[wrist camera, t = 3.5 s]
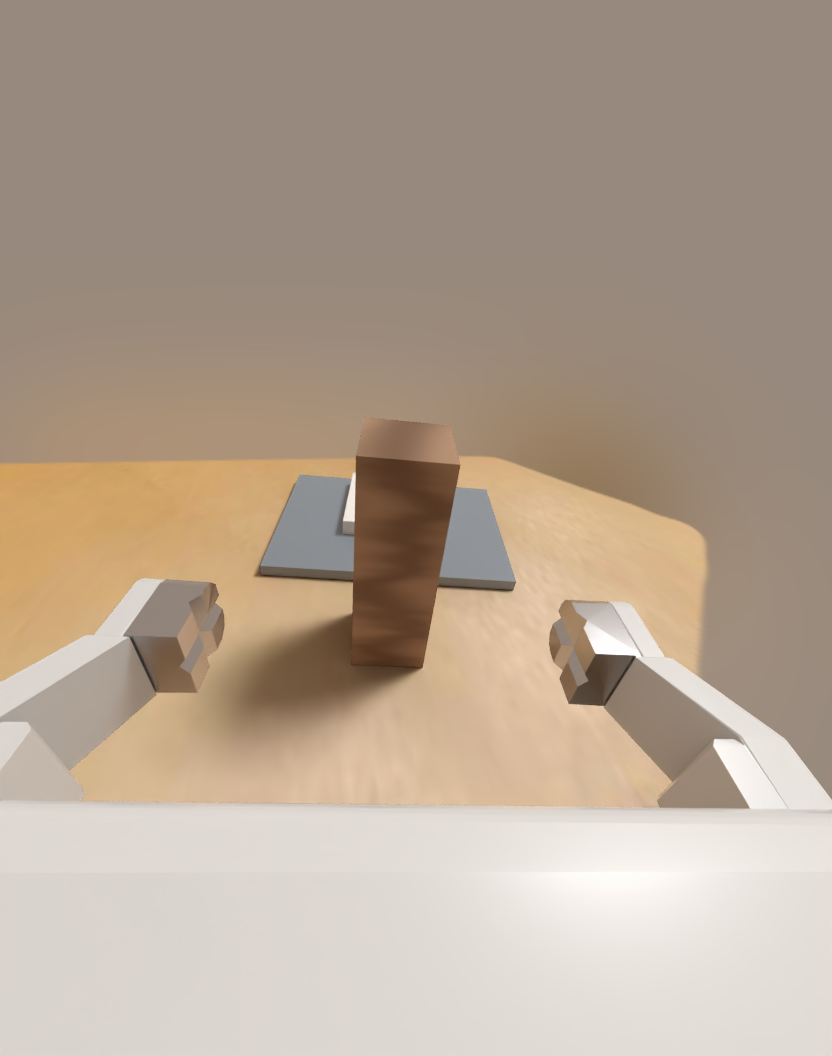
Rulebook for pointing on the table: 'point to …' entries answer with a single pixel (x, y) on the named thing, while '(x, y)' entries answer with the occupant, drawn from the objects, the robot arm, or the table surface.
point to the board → (325, 552)
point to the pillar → (399, 537)
